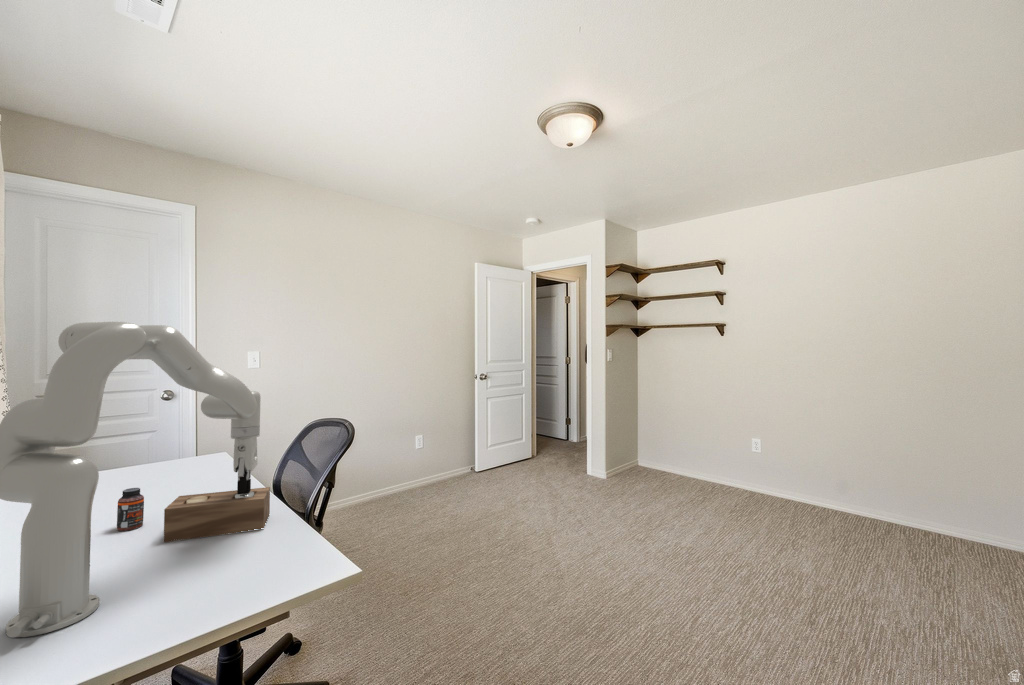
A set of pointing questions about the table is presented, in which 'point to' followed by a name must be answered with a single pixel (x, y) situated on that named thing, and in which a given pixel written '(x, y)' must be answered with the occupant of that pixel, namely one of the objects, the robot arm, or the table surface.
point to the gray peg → (244, 495)
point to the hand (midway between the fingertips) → (243, 493)
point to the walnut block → (216, 514)
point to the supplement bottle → (130, 510)
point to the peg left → (197, 499)
